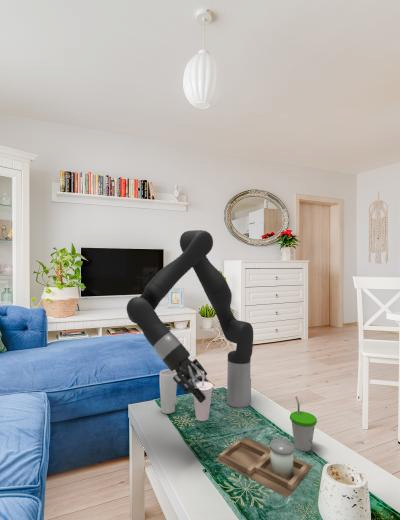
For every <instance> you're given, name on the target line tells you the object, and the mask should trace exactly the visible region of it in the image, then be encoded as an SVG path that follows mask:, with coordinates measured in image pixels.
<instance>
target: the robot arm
mask: <svg viewBox="0 0 400 520" xmlns="http://www.w3.org/2000/svg"><path fill="white" fill-rule="evenodd" d="M213 246H214V239H213V236H212V234H211V233H210V232H208V231H206V230H202V229H201V230H199V229H195V230H194V229H193V230H186V231H185V232H183V233H182V234H181V235H180V238H179V247H180V249H181V251H182V253H181V254H180V255H179V256H178V257H176V258H175V259H174V260H172V261H171V262H169V263H168V264H167V265H165V266H164V267H162V268H161V269H160V270H159V271H157V272H156V274H155V275H154V276H153V277H152V278H151V279H150V280H149V281H148V282H147V284H146V286H145V287H144V290H143V292H142V294H141V295H140V296H135V297H132V298H130V300H128V302H127V304H126V313H127V317H128V319H129V320H130V321H131V322H132V323H133V324H136V325H137V327H138V328H140V330H141V332H142V334H143V335H144V338H145V339H146V340H147V341H148V342H149V344H150V346H152V347H153V349H154V351H155V353H156V354H157V355H158V356H159V358H160V359H161V360H162V363H164V364H165V365H166V367H167V369H170V370H171V371H174V370H175V371H176V372H177V374H176V375H175V376H174V377H173V379H174V381H175V382H176V383H177V386H178V387H180V389H181V390H182V391H183V392H184V393H185V394H189V393H190V394H192V395H194V396H195V397H196V399H197V400H198V401H199V402H200V403H202V402H203V401H204V400H205V399H206V397H205V395H204V394H203V393H202V392H201V390H200V389H199V388H197V385H196V383H195V382H199V381H202V371H204V381H205V382H209V381H208V379H207V378H208V377H207V375H208V372H207V371H206V369H205V368H204V367H203V366H202V365H201V363H200V362H199V360H198V359H196V358H195V359H194V360H191V359H189V357H190V356H191V354H190V353H191V352H189V351H188V350H187V348H186V347H185V346H184V345H183V343H181V341H180V340H179V339H178V337H177V336H176V335H175V334H173V333H172V331H171V330H170V329H169V328H168V326H167V325H165V323H164V322H163V321H162V320H161V318H160V317H159V316H158V314H157V312H156V311H155V310H156V308H157V307H158V306H159V304H160V302H161V301H162V300H163V299H164V298H165V297H166V296H167V295H168V293H169V292H170V291H171V290H172V288H174V286H175V285H176V284H177V283H178V281H180V280H181V278H182V277H184V276H185V275H186V274H187V273H188V272H189V271H190V270H191V269H193V271H194V273H195V275H196V277H197V279H198V280H199V282H200V284H201V286H202V288H203V291H204V293H205V295H206V298H207V299H208V301H209V303H210V305H211V306H212V309H213V310H214V312H215V313H214V314H215V315H216V317H217V320H218V323H219V324H220V325H219V326H220V328H221V330H222V333H223V335H224V338H225V339H226V340H227V341H228V342H230V343H232V344H236V348H235V350H231V351H229V352H228V354H227V373H226V374H227V377H226V378H227V382H226V383H227V385H226V386H227V388H226V389H227V390H226V391H227V392H226V394H227V395H226V403H227V404H228V405H229V406H231V407H233V408H237V409H239V408H240V409H243V408H247V407H249V406H250V404H251V402H252V378H251V362H252V359H251V358H252V355H253V348H254V327H253V326H252V324H251V323H250V322H247V321H243V320H238V319H237V318H236V317H235V316H234V314H233V312H232V308H231V304H232V298H233V297H232V295H233V294H232V290H231V288H230V286H229V284H228V282H227V279H226V278H225V277H224V275H223V274H222V273H221V271H219V270H218V269H217V268H216V267H215V265H213V264H212V263H211V261H210V260H209V259H208V257H207V255H208V254H209V253H210V252H211V251H212V249H213V248H214V247H213ZM214 389H215V388H214V387H213V390H214Z"/></svg>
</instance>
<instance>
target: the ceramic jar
mask: <svg viewBox="0 0 400 520" xmlns="http://www.w3.org/2000/svg"><path fill="white" fill-rule="evenodd" d="M269 447H270V449H271V454H270V471H271V473H273V474H275V475H277V476H280V477H282V478H284V479H289V478H291V477H292V476H293V458H294V453H295V446H294V443H293V442H291V441H290V440H288V439H286V438H273V439H272V440H270V442H269Z"/></svg>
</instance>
